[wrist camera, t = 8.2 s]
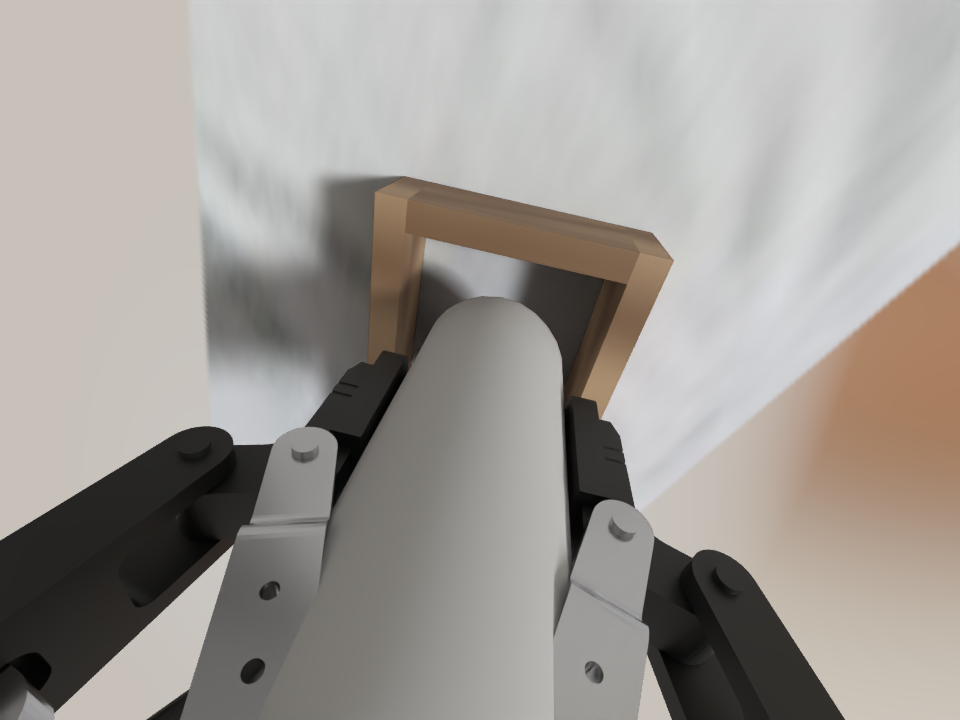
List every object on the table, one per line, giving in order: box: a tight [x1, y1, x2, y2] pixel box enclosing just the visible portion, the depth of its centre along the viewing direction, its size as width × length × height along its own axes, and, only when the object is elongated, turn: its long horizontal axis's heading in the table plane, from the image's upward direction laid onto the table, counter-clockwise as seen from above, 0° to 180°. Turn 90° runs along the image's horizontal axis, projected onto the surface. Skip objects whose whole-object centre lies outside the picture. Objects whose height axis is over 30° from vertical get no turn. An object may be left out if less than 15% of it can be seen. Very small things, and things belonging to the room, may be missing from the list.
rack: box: [367, 176, 674, 420], centre depth 18 cm, size 17×9×3 cm, turn 170°
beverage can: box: [248, 296, 572, 720], centre depth 10 cm, size 5×5×12 cm
